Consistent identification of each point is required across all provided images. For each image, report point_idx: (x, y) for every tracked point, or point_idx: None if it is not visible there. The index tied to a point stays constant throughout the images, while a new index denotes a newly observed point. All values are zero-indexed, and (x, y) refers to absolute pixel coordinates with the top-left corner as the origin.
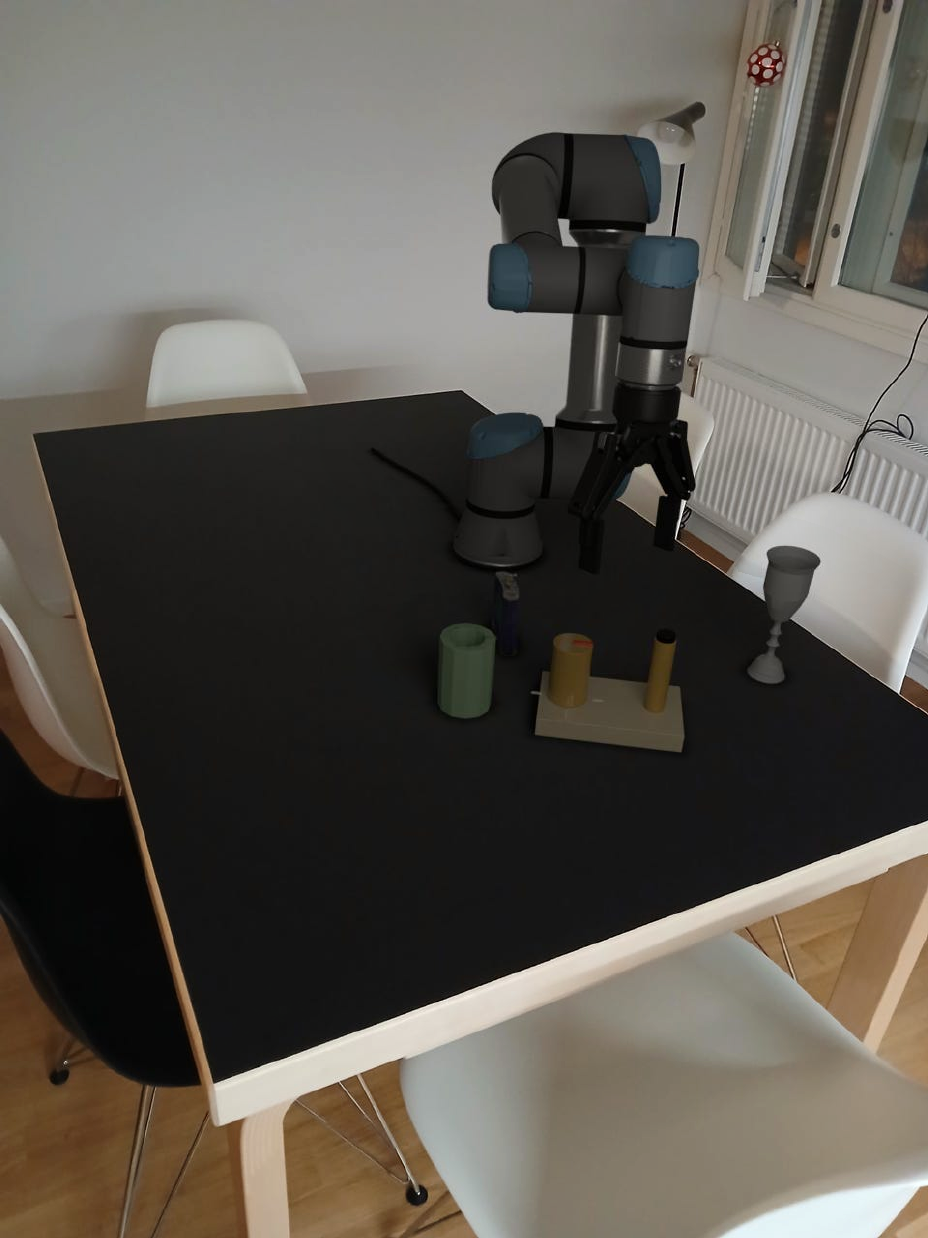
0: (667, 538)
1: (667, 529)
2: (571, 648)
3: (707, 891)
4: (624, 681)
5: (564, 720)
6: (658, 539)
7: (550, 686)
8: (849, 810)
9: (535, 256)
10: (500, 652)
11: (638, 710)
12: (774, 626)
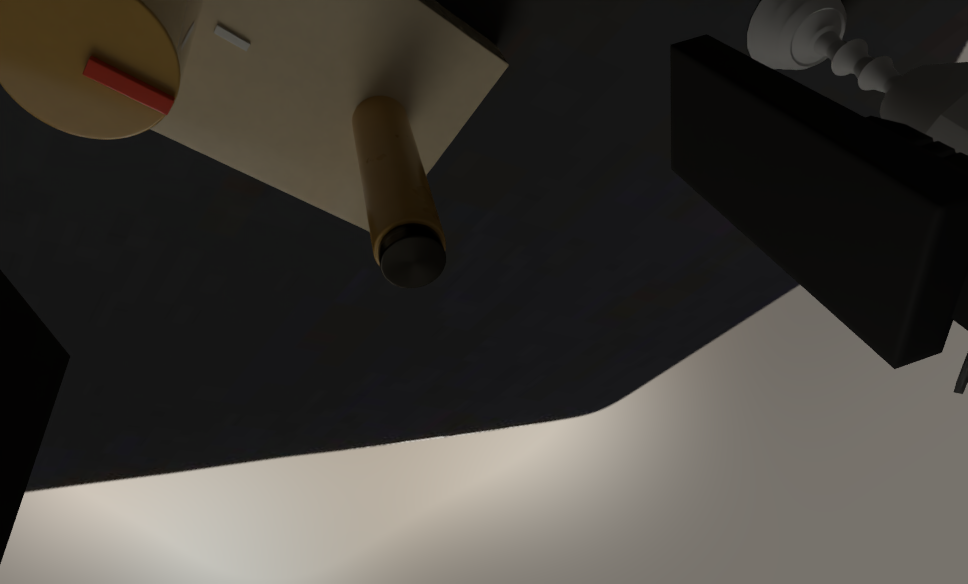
0: (709, 179)
1: (745, 196)
2: (63, 95)
3: (219, 457)
4: None
5: None
6: (697, 101)
7: None
8: (536, 384)
9: None
10: None
11: (329, 120)
12: (880, 82)
